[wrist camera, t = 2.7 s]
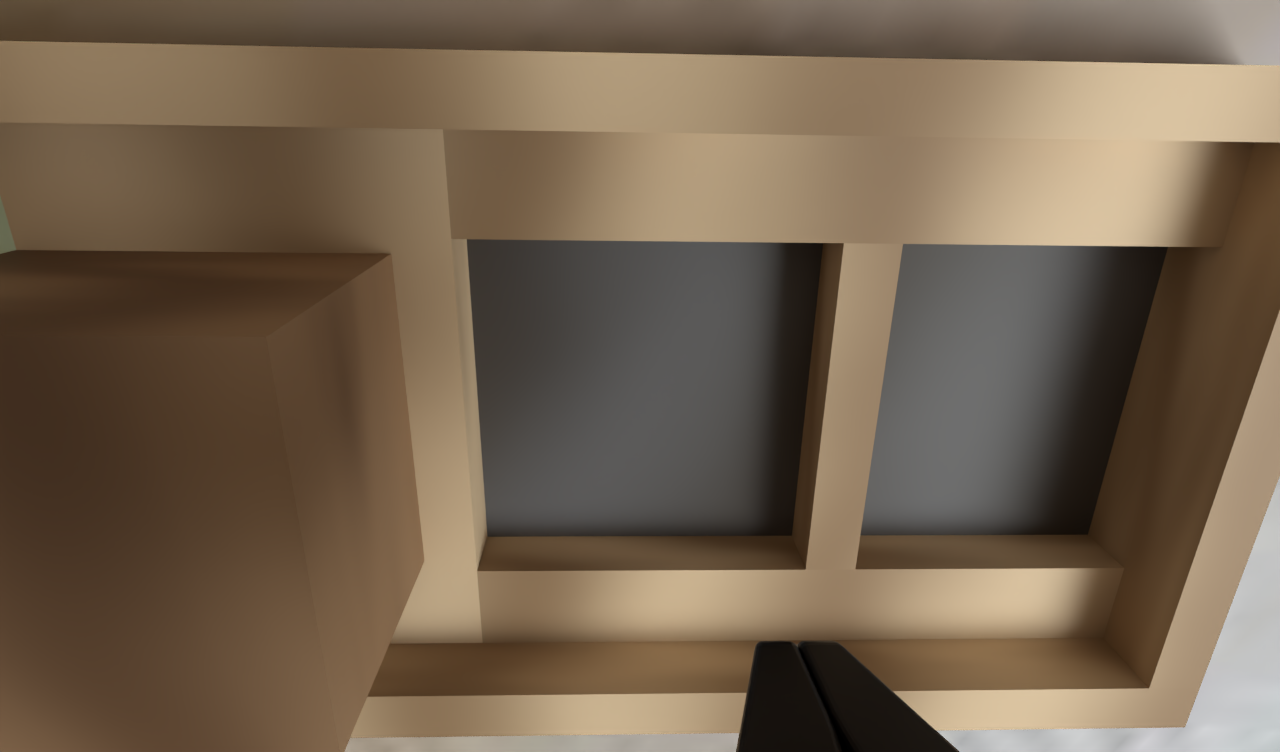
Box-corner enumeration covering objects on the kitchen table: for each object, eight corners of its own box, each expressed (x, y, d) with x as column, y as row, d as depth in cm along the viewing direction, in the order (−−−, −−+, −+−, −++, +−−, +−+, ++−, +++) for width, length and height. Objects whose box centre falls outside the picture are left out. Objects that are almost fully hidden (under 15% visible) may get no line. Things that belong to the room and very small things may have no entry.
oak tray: (-225, 634, 16) (-403, 747, 13) (-527, 42, 12) (-888, 23, 9) (1091, 624, 17) (1184, 727, 14) (1252, 76, 13) (1433, 68, 10)
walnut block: (108, 562, 14) (-116, 764, 10) (16, 249, 12) (-327, 333, 7) (424, 560, 14) (340, 758, 10) (390, 253, 12) (265, 336, 8)
